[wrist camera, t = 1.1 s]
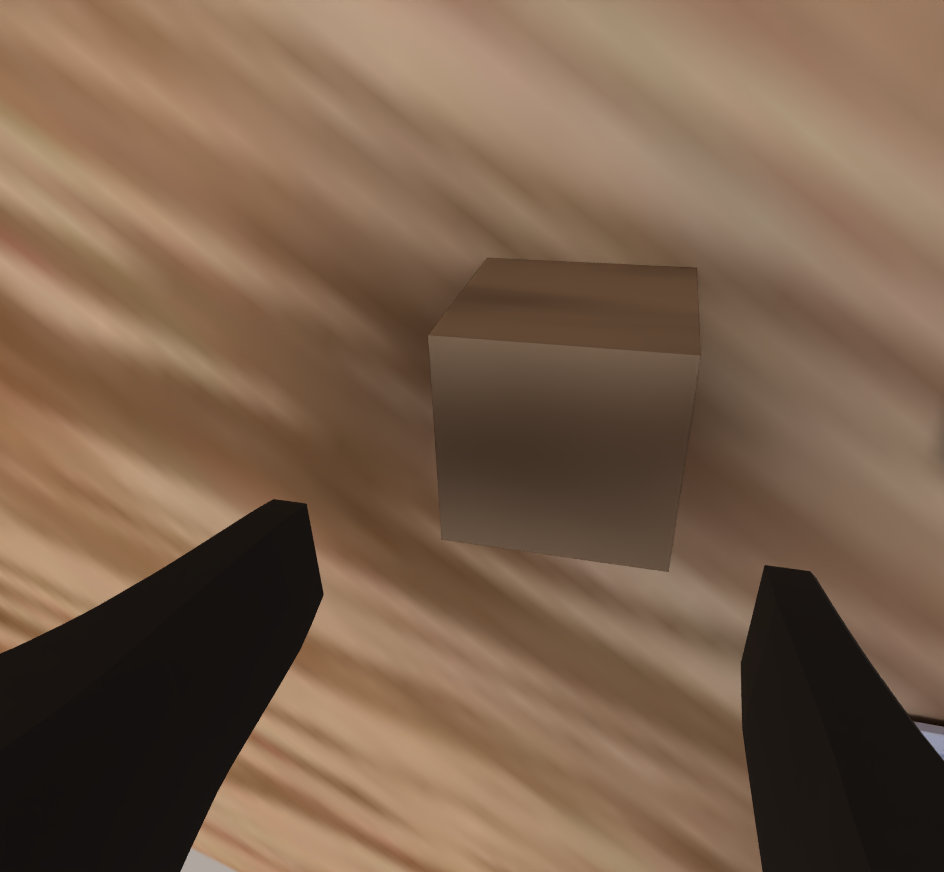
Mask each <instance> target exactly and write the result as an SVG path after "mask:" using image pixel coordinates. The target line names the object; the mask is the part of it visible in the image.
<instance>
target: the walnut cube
mask: <svg viewBox="0 0 944 872" xmlns="http://www.w3.org/2000/svg"><path fill="white" fill-rule="evenodd" d="M428 342H429V357H430V372H431V387H432V402H433V417H434V432H435V447H436V462H437V477H438V492H439V507H440V522H441V537H442V540H447V541H454V542H461V543H468V544H475V545H483V546H490V547H497V548H504V549H511V550H518V551H525V552H532V553H539V554H546V555H553V556H560V557H567V558H574V559H581V560H588V561H595V562H602V563H609V564H616V565H623V566H630V567H637V568H645V569H652V570H659V571H666V572H669V566H670V559H671V553H672V546H673V539H674V532H675V526H676V519H677V512H678V506H679V499H680V492H681V486H682V479H683V472H684V466H685V459H686V452H687V446H688V439H689V432H690V425H691V419H692V412H693V405H694V399H695V392H696V385H697V379H698V372H699V365H700V359H701V346H700V324H699V302H698V280H697V268H691V267H670V266H648V265H627V264H606V263H584V262H563V261H542V260H521V259H499V258H487V259H486V260H485V261H484V263H483V264H482V265H481V267H480V268H479V269H478V271H477V272H476V273H475V275H474V276H473V277H472V278H471V280H470V281H469V282H468V284H467V285H466V286H465V288H464V289H463V290H462V292H461V293H460V294H459V295H458V297H457V298H456V299H455V301H454V302H453V303H452V305H451V306H450V307H449V309H448V310H447V311H446V313H445V314H444V315H443V316H442V318H441V319H440V320H439V322H438V323H437V324H436V326H435V327H434V328H433V330H432V331H431V332H430V333H429V335H428Z"/></svg>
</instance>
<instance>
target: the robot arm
mask: <svg viewBox="0 0 944 872" xmlns="http://www.w3.org/2000/svg"><path fill="white" fill-rule="evenodd" d="M323 595H324V594H323V589H322V583H321V578H320V573H319V567H318V562H317V557H316V551H315V546H314V541H313V535H312V530H311V525H310V520H309V514H308V509H307V504H305V503H298V502H290V501H283V500H275V499H273V500H271V501H270V502H268V503H266V504H264V505H263V506H261V507H259V508H257V509H256V510H254V511H253V512H251V513H249V514H248V515H246V516H244V517H243V518H241V519H240V520H238V521H237V522H235V523H233V524H232V525H230V526H229V527H227V528H226V529H224V530H223V531H221V532H219V533H218V534H216V535H215V536H213V537H212V538H210V539H209V540H207V541H205V542H204V543H202V544H201V545H199V546H197V547H196V548H194V549H193V550H191V551H190V552H188V553H186V554H185V555H183V556H182V557H180V558H178V559H177V560H175V561H174V562H172V563H170V564H169V565H167V566H166V567H164V568H162V569H161V570H159V571H157V572H156V573H154V574H152V575H151V576H149V577H147V578H145V579H144V580H142V581H140V582H139V583H137V584H135V585H133V586H132V587H130V588H128V589H126V590H125V591H123V592H121V593H120V594H118V595H116V596H114V597H113V598H111V599H109V600H108V601H106V602H104V603H102V604H101V605H99V606H97V607H95V608H93V609H91V610H90V611H88V612H86V613H84V614H82V615H80V616H78V617H76V618H74V619H72V620H70V621H69V622H67V623H65V624H63V625H61V626H59V627H56V628H54V629H52V630H50V631H48V632H46V633H44V634H42V635H40V636H38V637H36V638H34V639H32V640H30V641H28V642H26V643H23V644H21V645H19V646H17V647H15V648H13V649H10V650H8V651H5V652H3V653H1V654H0V872H180V871H181V869H182V867H183V864H184V862H185V860H186V858H187V856H188V853H189V851H190V849H191V847H192V845H193V843H194V840H195V838H196V836H197V834H198V832H199V830H200V828H201V826H202V823H203V821H204V819H205V817H206V815H207V813H208V811H209V809H210V806H211V804H212V802H213V800H214V798H215V796H216V794H217V792H218V790H219V788H220V786H221V785H222V783H223V781H224V779H225V777H226V775H227V773H228V772H229V770H230V768H231V766H232V764H233V763H234V761H235V759H236V758H237V756H238V754H239V753H240V751H241V749H242V748H243V746H244V744H245V743H246V741H247V739H248V738H249V736H250V734H251V732H252V731H253V729H254V727H255V726H256V724H257V722H258V721H259V719H260V717H261V716H262V714H263V712H264V711H265V709H266V707H267V706H268V704H269V702H270V701H271V699H272V697H273V696H274V694H275V692H276V691H277V689H278V687H279V685H280V684H281V682H282V680H283V679H284V677H285V675H286V673H287V672H288V670H289V668H290V667H291V665H292V663H293V661H294V660H295V658H296V656H297V654H298V653H299V651H300V649H301V647H302V645H303V642H304V640H305V638H306V636H307V634H308V631H309V629H310V627H311V625H312V622H313V620H314V617H315V615H316V612H317V610H318V607H319V605H320V602H321V600H322V597H323ZM741 698H742V730H743V737H744V745H745V752H746V759H747V766H748V773H749V781H750V788H751V794H752V801H753V808H754V815H755V822H756V829H757V836H758V843H759V850H760V856H761V863H762V870H763V872H944V727H942V726H937V725H931V724H925V723H919V722H914V721H913V720H912V719H911V718H910V716H909V715H908V714H907V713H906V711H905V710H904V709H903V707H902V706H901V704H900V703H899V702H898V700H897V699H896V697H895V696H894V695H893V693H892V692H891V691H890V689H889V688H888V686H887V685H886V684H885V682H884V681H883V679H882V678H881V677H880V675H879V674H878V672H877V671H876V670H875V668H874V667H873V665H872V664H871V663H870V661H869V660H868V658H867V657H866V655H865V654H864V652H863V651H862V649H861V648H860V646H859V645H858V643H857V642H856V640H855V639H854V637H853V636H852V634H851V633H850V631H849V630H848V628H847V627H846V625H845V624H844V622H843V620H842V619H841V617H840V616H839V614H838V613H837V611H836V609H835V608H834V606H833V605H832V603H831V601H830V600H829V598H828V597H827V595H826V593H825V592H824V590H823V589H822V587H821V585H820V584H819V582H818V580H817V579H816V578H815V576H814V575H813V574H812V573H811V572H810V571H804V570H797V569H789V568H782V567H774V566H767V565H765V566H764V570H763V574H762V578H761V582H760V586H759V591H758V595H757V599H756V603H755V607H754V611H753V615H752V620H751V624H750V628H749V632H748V636H747V640H746V644H745V648H744V653H743V657H742V661H741Z"/></svg>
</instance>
